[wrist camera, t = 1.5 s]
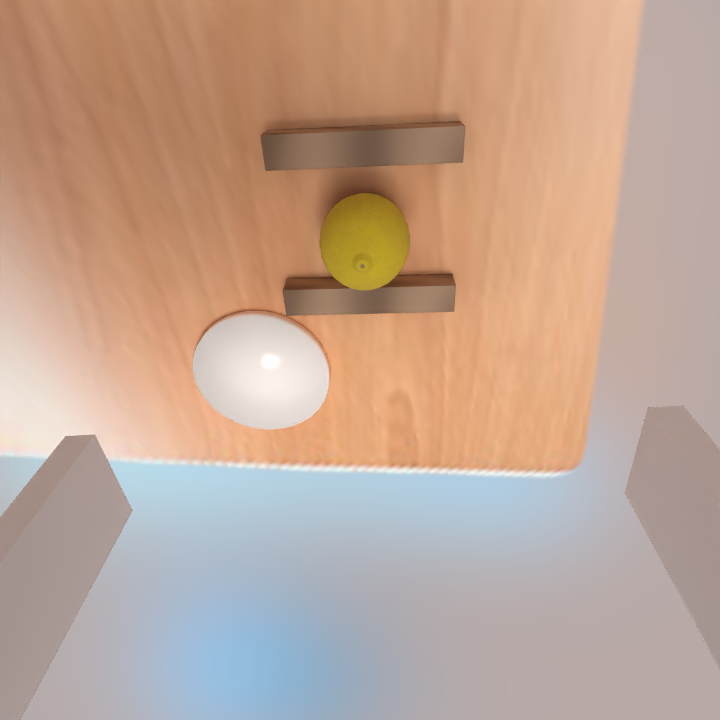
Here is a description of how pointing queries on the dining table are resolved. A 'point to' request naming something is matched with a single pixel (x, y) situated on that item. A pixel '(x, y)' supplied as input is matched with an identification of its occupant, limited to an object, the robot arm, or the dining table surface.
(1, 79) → the dining table surface
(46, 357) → the dining table surface
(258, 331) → the saucer
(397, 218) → the lemon
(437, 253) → the dining table surface
